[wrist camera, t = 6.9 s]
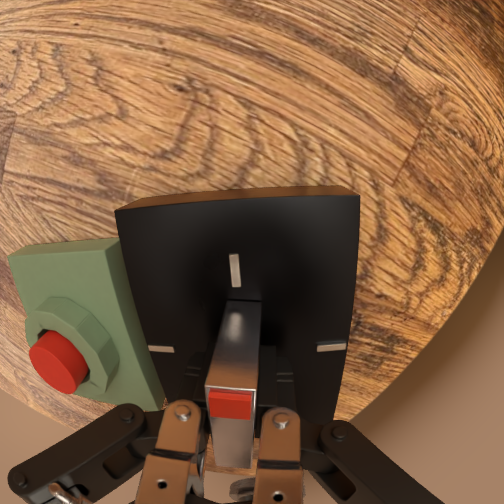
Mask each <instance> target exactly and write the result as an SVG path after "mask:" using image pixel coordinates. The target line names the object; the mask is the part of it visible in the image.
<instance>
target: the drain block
mask: <svg viewBox="0 0 504 504" xmlns="http://www.w3.org/2000/svg"><path fill="white" fill-rule="evenodd" d="M7 258H8V261H9V265H10V268H11V272H12V275H13V278H14V281H15V284H16V287H17V290H18V293H19V295H20V298H21V301H22V304H23V306H24V309H25V311H26V314H27V316H28V317H27V319H26V320H25V331H26V339H27V342H28V344H29V346H30V348H31V347H32V346H33V345H34V344H35V343H36V342H37V341H38V340H39V339H40V338H41V337H42V336H43V335H44V334H45V333H46V332H47V331H50V330H53V331H57V332H58V333H60V334H61V335H62V336H64V337H65V338H67V339H68V340H70V341H71V342H72V344H73V345H74V346H75V347H76V348H77V349H78V350H79V352H80V353H81V354H82V355H83V356H84V359H85V361H86V363H87V365H88V373H87V375H86V376H85V378H84V379H83V381H82V382H81V384H80V385H79V387H78V388H77V389H76V391H75V392H74V393H72V394H75V395H78V396H82V397H86V398H89V399H93V400H97V401H101V402H105V403H110V404H114V405H121V404H124V403H132V404H136V405H138V406H139V407H140V408H141V409H142V410H145V411H160V410H161V408H162V405H163V403H164V400H165V397H166V396H165V393H164V391H163V388H162V386H161V383H160V380H159V378H158V375H157V372H156V370H155V367H154V364H153V361H152V358H151V355H150V353H149V350H148V347H147V344H146V340H145V337H144V334H143V331H142V328H141V324H140V321H139V318H138V314H137V311H136V307H135V304H134V300H133V296H132V292H131V289H130V285H129V281H128V276H127V272H126V268H125V264H124V259H123V254H122V250H121V245H120V240H119V237H118V238H105V239H93V240H81V241H70V242H59V243H48V244H38V245H28V246H25V247H23V248H21V249H19V250H17V251H16V252H14V253H12V254H10V255H9V256H7Z"/></svg>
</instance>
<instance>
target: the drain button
mask: <svg viewBox="0 0 504 504" xmlns="http://www.w3.org/2000/svg"><path fill="white" fill-rule="evenodd" d="M29 356H30V360H31V362H32V364H33V366H34V368H35V370H36V371H37V372H38V374H39V375H40V376H41V377H42V378H43V379H44V380H45V381H46V382H47V383H48V384H49V385H50V386H52V387H53V388H55V389H56V390H58V391H60V392H62V393H66V394H72V393H74V392H75V391H76V389H77V388H78V387H79V385H80V384H81V382H82V381H83V379H84V378H85V376H86V375H87V373H88V365H87V363H86V361H85V359H84V356H83V355H82V354H81V353H80V352H79V350H78V349H77V348H76V347H75V346H74V345H73V344H72V342H71V341H70V340H68V339H67V338H65V337H64V336H62V335H61V334H60V333H58V332H57V331H53V330H50V331H47V332H46V333H45V334H44V335H43V336H42V337H41V338H40V339H39V340H38V341H37V342H36V343H35V344H34V345H33V346H32V347H31V348H30V351H29Z"/></svg>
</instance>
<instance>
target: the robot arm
mask: <svg viewBox="0 0 504 504" xmlns="http://www.w3.org/2000/svg"><path fill="white" fill-rule="evenodd" d="M215 343H216V342H208V345H207V348H206V352H196V353H195V354H194V355H192V356H191V357H190V358H189V361H188V364H187V368H186V370H185V373H184V376H183V379H182V382H181V385H180V388H179V391H178V394H177V397H176V400H175V401H173V402H171V403H170V404H169V405H168V406H167V407H166V409H164V410H160V411H150V412H143V410H142V409H141V408H140V407H139V406H138V405H136V404H132V403H124V404H121V405H118V406H117V407H115V408H113V409H112V410H110V411H109V412H107V413H106V414H104V415H102V416H101V417H99V418H98V419H96V420H95V421H93V422H91V423H90V424H88V425H86V426H85V427H83V428H82V429H80V430H78V431H77V432H75V433H73V434H72V435H70V436H68V437H67V438H65V439H64V440H62V441H60V442H58V443H56V444H55V445H53V446H51V447H50V448H48V449H46V450H44V451H43V452H41V453H39V454H38V455H35V456H34V457H32V458H30V459H28V460H26V461H24V462H23V463H21V464H19V465H17V466H15V467H13V468H12V469H11V470H10V472H9V474H8V484H9V487H10V488H11V490H12V491H13V492H14V493H15V494H17V495H18V496H19V497H21V498H22V499H23V500H24V501H25V502H27V503H28V504H93V503H95V502H97V501H98V500H100V499H101V498H103V497H104V496H106V495H107V494H109V493H110V492H112V491H113V490H114V489H116V488H117V487H119V486H120V485H122V484H123V483H124V482H126V481H127V480H129V479H130V478H131V477H132V476H134V475H135V474H137V473H138V472H139V471H141V470H142V469H143V471H142V475H141V479H140V483H139V486H138V491H137V494H136V499H135V500H134V501H132V502H131V503H129V504H220V503H216V502H213V501H210V500H207V499H205V498H204V487H203V482H204V472H205V464H206V456H207V444H208V439H209V434H211V432H210V425H209V418H208V411H207V404H206V396H205V388H204V385H205V381H206V377H207V373H208V369H209V366H210V362H211V358H212V354H213V351H214V347H215ZM255 438H260V444H259V453H258V462H257V470H256V478H255V486H254V489H253V490H247V491H243V492H240V493H239V494H238V495H237V502H234V503H225V504H303V469H305V470H308V471H309V472H310V474H311V475H312V476H313V477H314V478H315V479H316V480H317V482H318V483H319V484H320V485H321V486H322V487H323V488H324V489H325V490H326V491H327V493H328V494H329V495H330V496H331V497H332V498H333V499H334V500H335V501H336V502H337V503H338V504H445V503H443V502H442V501H441V500H439V499H438V498H437V497H435V496H434V495H433V494H432V493H430V492H429V491H428V490H427V489H426V488H424V487H423V486H422V485H421V484H419V483H418V482H417V481H416V480H415V479H413V478H412V477H411V476H410V475H409V474H407V473H406V472H405V471H404V470H403V469H401V468H400V467H399V466H398V465H397V464H396V463H394V462H393V461H392V460H391V459H390V458H389V457H387V456H386V455H385V454H384V453H383V452H382V451H381V450H380V449H378V448H377V447H376V446H375V445H374V444H373V443H372V442H371V441H369V440H368V439H367V438H366V437H365V436H364V435H363V434H362V433H361V432H360V431H358V430H357V429H356V428H355V427H354V426H353V425H351V423H349V422H347V421H343V420H333V421H330V422H328V423H326V424H325V425H320V424H315V423H311V422H309V421H306V420H305V419H303V418H302V417H301V416H300V415H299V414H298V412H297V409H296V398H295V387H294V376H293V365H292V363H291V362H290V361H289V359H288V358H287V357H276V346H270V345H260V353H259V371H258V387H257V406H256V425H255Z"/></svg>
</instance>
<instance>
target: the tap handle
mask: <svg viewBox="0 0 504 504" xmlns="http://www.w3.org/2000/svg"><path fill="white" fill-rule="evenodd" d="M261 317H262V303H261V302H245V301H227V302H226V306H225V310H224V313H223V317H222V321H221V324H220V328H219V332H218V336H217V339H216V343H215V347H214V351H213V354H212V358H211V362H210V366H209V369H208V373H207V377H206V381H205V385H204V388H205V396H206V404H207V411H208V418H209V425H210V432H211V438H212V445H213V451H214V457H215V462H216V465H217V466H224V467H234V468H247V469H251V468H252V459H253V446H254V432H255V418H256V403H257V387H258V371H259V353H260V336H261Z"/></svg>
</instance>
